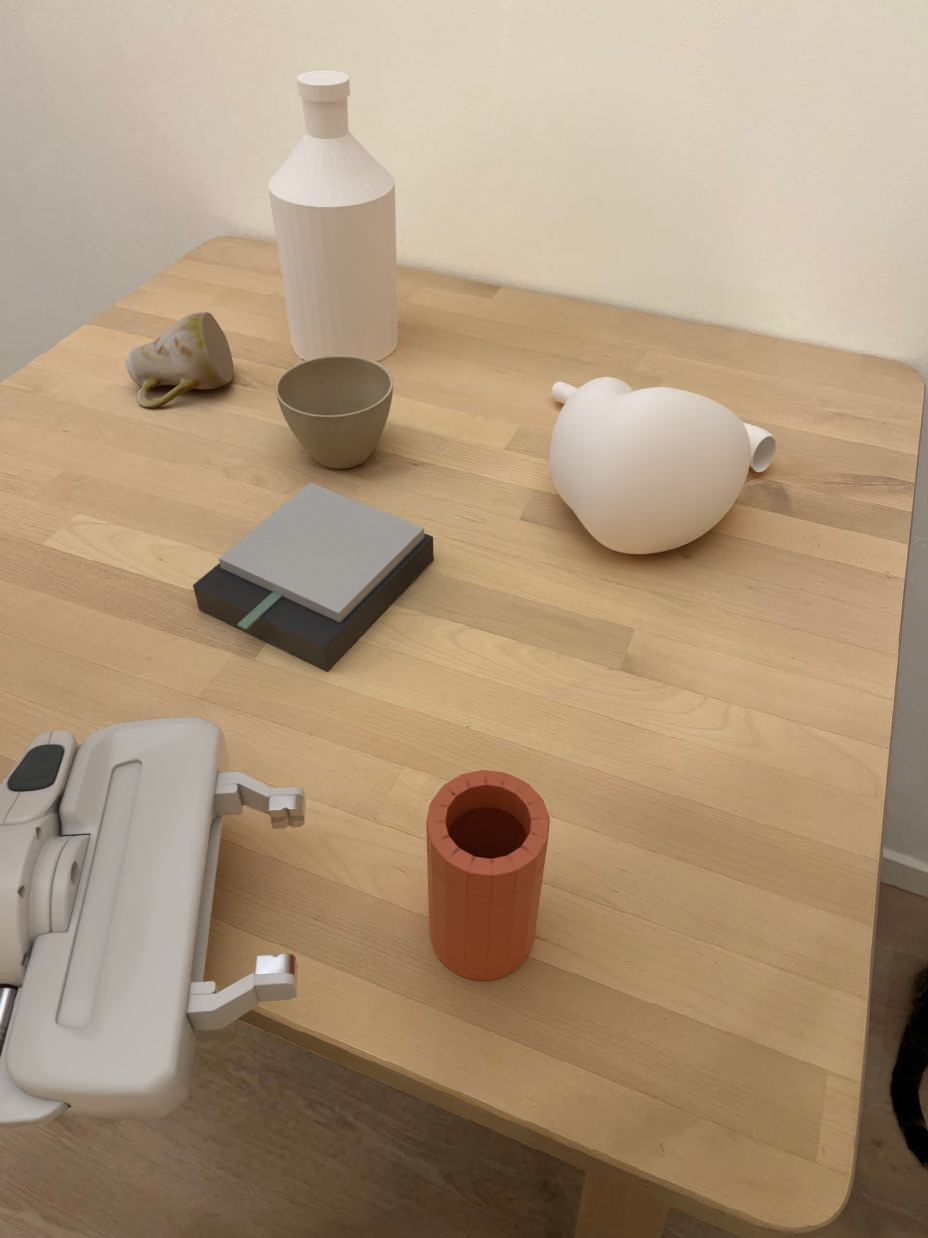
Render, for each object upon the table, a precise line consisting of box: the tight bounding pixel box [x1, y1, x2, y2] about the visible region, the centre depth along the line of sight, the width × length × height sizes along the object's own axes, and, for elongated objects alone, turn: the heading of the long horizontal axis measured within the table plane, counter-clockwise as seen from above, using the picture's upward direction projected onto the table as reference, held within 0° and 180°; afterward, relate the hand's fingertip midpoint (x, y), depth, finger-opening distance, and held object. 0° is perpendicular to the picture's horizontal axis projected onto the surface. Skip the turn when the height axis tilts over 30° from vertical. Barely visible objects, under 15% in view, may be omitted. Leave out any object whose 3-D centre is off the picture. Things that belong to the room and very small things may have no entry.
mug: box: [125, 311, 235, 408], centre depth 90 cm, size 8×10×10 cm
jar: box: [425, 769, 551, 982], centre depth 48 cm, size 6×6×11 cm
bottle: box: [267, 69, 399, 363], centre depth 90 cm, size 12×12×25 cm
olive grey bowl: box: [274, 355, 394, 470], centre depth 82 cm, size 10×10×7 cm
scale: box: [192, 482, 434, 672], centre depth 70 cm, size 12×16×4 cm
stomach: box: [548, 376, 777, 555], centre depth 80 cm, size 23×13×24 cm
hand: (300, 885), depth 47 cm, fingers open, 8 cm apart
